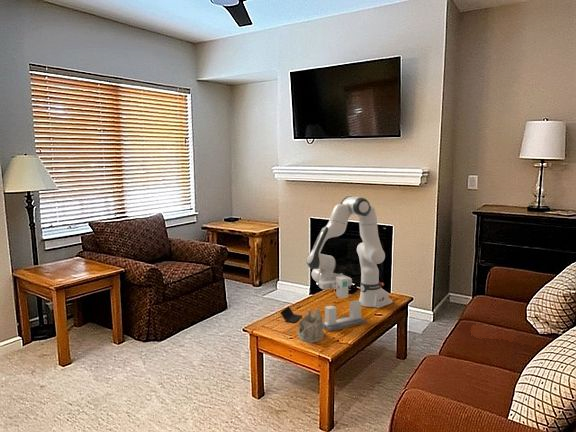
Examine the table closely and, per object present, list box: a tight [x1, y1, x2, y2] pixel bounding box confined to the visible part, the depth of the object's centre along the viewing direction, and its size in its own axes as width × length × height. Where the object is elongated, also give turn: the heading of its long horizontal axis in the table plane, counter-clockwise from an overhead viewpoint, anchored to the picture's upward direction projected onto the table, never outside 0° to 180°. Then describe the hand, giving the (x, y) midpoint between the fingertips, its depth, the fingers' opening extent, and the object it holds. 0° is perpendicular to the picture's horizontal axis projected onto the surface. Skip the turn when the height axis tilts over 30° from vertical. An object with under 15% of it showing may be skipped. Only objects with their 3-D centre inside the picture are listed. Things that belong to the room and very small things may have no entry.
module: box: [335, 276, 349, 299], centre depth 243 cm, size 4×6×11 cm
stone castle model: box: [296, 307, 325, 344], centre depth 230 cm, size 16×16×15 cm
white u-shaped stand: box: [322, 299, 367, 332], centre depth 245 cm, size 25×10×12 cm, turn 118°
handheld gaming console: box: [279, 306, 303, 324], centre depth 254 cm, size 12×7×10 cm
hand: (343, 286), depth 243 cm, fingers closed on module, 4 cm apart
